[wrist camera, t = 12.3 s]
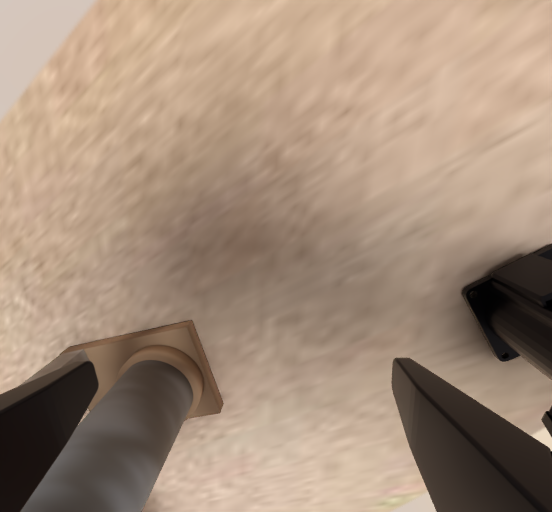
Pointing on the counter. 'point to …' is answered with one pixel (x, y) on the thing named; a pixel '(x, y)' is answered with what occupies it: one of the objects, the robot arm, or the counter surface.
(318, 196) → the counter surface
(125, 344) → the grey h-shaped frame
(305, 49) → the counter surface
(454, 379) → the counter surface
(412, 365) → the robot arm
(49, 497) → the ball
